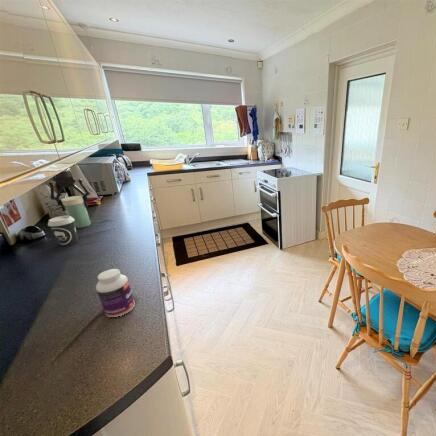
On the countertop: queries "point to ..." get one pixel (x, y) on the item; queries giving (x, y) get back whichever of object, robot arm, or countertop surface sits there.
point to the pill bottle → (114, 293)
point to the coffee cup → (64, 230)
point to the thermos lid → (72, 200)
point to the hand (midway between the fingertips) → (75, 208)
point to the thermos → (78, 215)
